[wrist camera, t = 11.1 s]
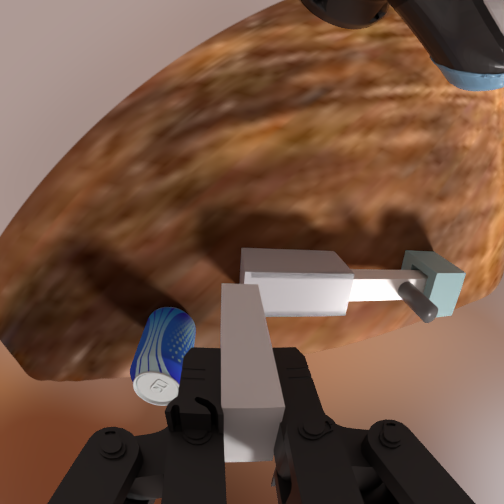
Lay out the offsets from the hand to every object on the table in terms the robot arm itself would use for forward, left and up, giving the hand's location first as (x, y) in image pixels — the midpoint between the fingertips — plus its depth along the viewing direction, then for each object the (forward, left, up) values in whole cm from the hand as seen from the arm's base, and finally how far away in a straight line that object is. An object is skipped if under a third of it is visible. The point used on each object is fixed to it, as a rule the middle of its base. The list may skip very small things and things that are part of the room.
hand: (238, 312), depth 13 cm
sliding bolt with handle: (+12, +25, -29) cm, 40 cm away
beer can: (+23, -9, -33) cm, 41 cm away
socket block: (+12, +35, -32) cm, 49 cm away
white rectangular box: (+12, +10, -32) cm, 36 cm away
